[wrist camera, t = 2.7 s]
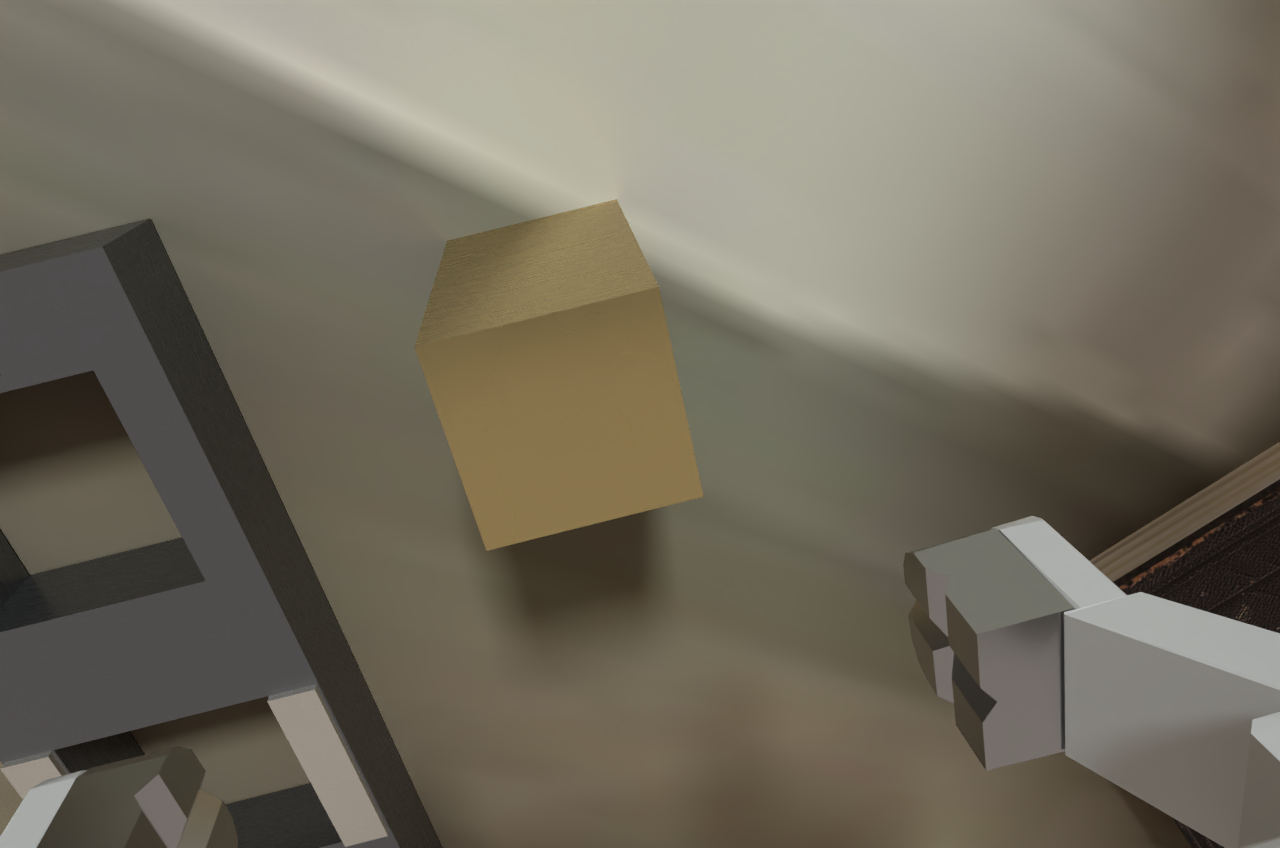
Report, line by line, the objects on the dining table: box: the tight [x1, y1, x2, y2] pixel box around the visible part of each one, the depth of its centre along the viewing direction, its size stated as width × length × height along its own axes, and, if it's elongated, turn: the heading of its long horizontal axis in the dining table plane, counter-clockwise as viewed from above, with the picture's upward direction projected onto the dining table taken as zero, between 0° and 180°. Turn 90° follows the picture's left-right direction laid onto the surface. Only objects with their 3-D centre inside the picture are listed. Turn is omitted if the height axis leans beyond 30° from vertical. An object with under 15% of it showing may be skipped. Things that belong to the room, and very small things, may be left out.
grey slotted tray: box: [0, 218, 442, 848], centre depth 24 cm, size 8×28×3 cm, turn 12°
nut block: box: [415, 200, 703, 551], centre depth 18 cm, size 4×4×7 cm
